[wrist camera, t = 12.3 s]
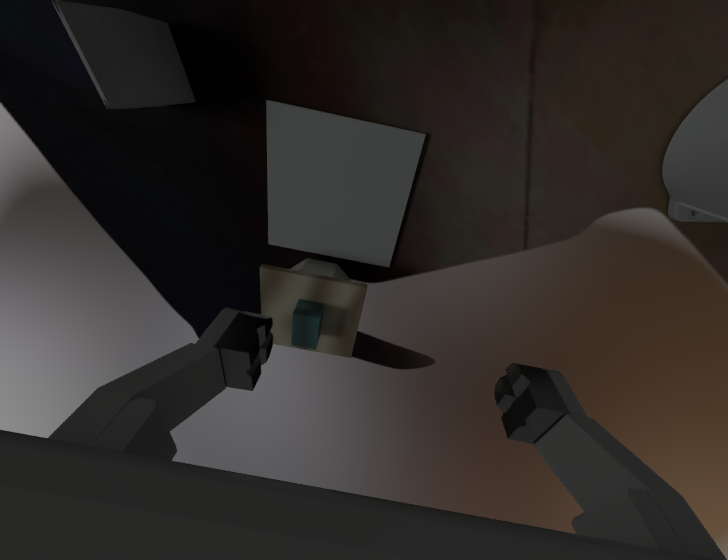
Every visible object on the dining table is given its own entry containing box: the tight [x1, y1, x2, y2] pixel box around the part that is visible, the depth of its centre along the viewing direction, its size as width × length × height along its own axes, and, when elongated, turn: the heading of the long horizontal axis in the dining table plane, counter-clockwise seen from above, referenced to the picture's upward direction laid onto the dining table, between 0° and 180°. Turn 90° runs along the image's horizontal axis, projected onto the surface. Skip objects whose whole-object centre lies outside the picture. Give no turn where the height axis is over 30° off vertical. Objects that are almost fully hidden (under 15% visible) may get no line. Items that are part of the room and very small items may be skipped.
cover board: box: [260, 264, 367, 358], centre depth 39 cm, size 14×14×4 cm
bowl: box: [290, 258, 351, 281], centre depth 43 cm, size 11×11×6 cm
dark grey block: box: [51, 0, 196, 109], centre depth 26 cm, size 4×7×10 cm, turn 5°
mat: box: [266, 100, 426, 267], centre depth 37 cm, size 18×18×1 cm
